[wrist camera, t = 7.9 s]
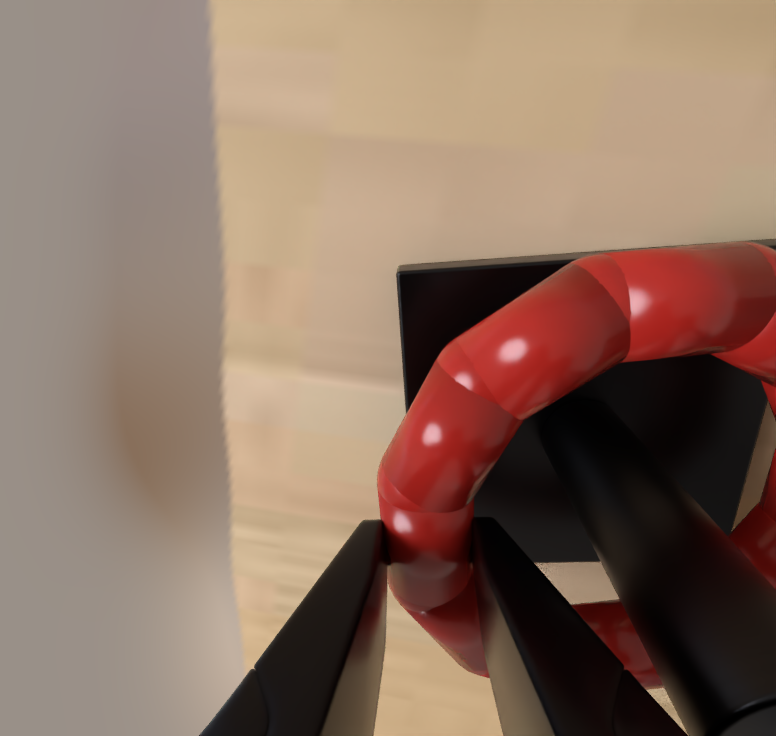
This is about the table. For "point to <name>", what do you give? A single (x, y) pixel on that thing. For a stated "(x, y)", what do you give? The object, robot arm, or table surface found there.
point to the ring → (547, 385)
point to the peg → (629, 491)
